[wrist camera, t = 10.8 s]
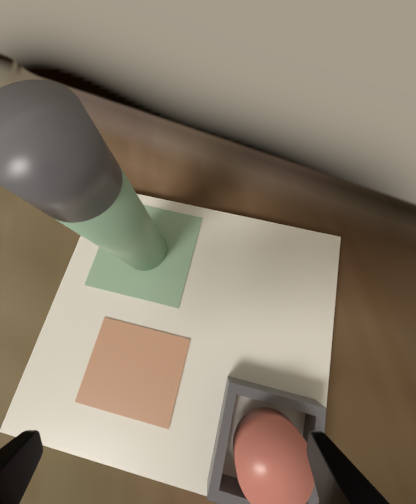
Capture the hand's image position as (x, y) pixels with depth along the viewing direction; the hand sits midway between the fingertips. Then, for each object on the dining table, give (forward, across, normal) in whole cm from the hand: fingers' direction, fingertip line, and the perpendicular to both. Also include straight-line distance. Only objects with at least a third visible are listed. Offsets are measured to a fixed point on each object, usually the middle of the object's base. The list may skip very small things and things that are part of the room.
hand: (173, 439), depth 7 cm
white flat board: (+11, +1, +2) cm, 11 cm away
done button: (+5, -5, +8) cm, 11 cm away
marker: (+13, +4, -4) cm, 14 cm away
